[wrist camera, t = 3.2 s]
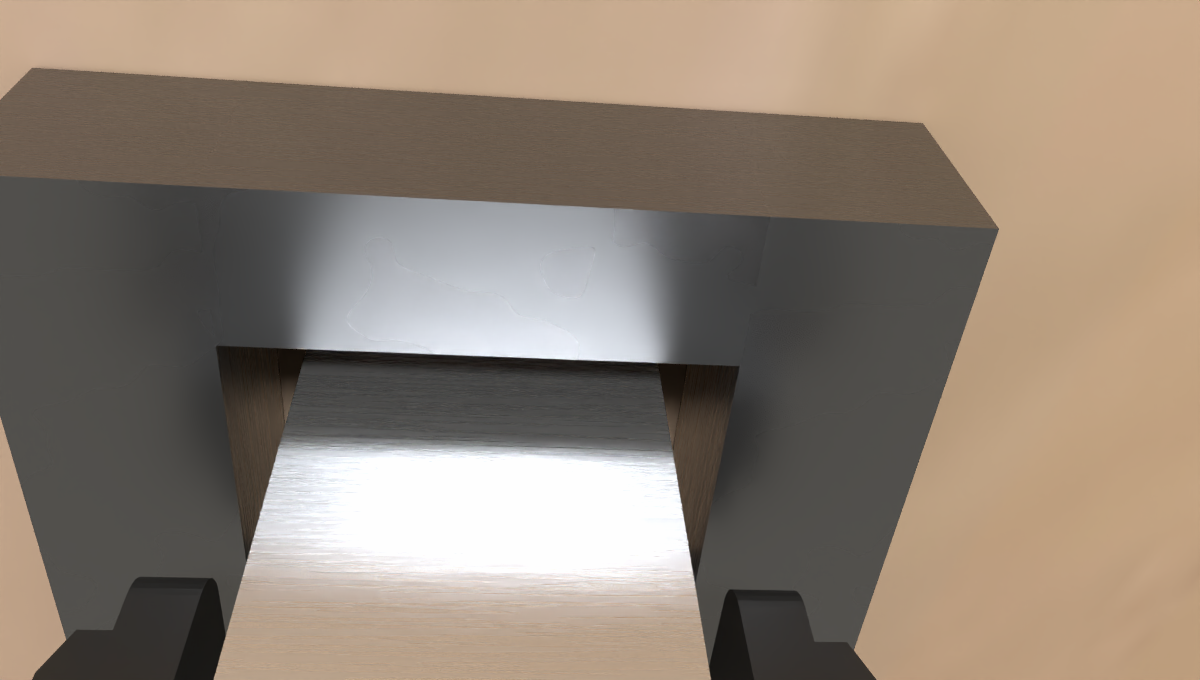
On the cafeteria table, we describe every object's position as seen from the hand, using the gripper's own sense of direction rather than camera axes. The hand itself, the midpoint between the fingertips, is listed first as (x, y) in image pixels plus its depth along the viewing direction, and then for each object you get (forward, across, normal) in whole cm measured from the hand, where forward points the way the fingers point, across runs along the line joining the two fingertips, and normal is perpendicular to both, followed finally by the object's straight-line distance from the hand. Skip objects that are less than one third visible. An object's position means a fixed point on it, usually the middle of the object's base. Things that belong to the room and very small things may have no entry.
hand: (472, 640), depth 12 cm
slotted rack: (+4, 0, +8) cm, 9 cm away
